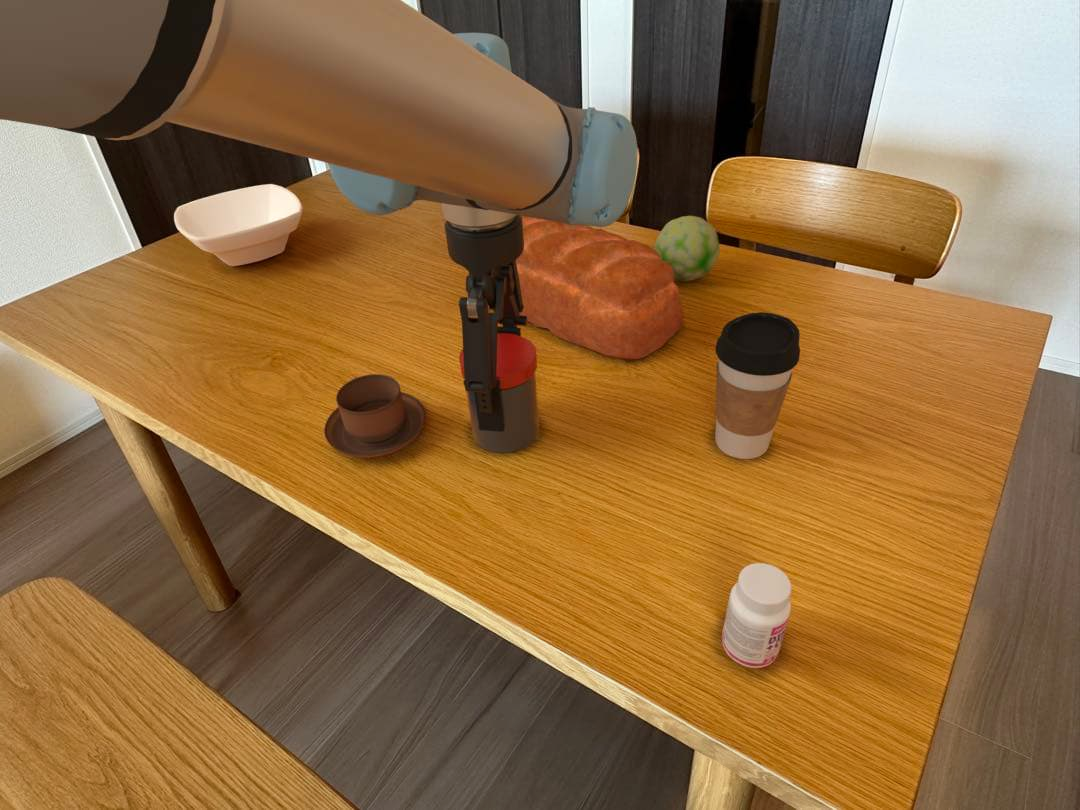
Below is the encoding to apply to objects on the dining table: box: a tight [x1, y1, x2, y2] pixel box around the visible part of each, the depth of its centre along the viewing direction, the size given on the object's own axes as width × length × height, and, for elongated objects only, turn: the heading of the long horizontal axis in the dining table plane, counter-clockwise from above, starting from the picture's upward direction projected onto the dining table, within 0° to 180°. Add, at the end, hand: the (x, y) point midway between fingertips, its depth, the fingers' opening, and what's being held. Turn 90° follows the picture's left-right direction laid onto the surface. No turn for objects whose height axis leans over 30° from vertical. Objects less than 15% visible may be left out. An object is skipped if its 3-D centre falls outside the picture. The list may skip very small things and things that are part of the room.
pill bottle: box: [721, 562, 792, 669], centre depth 57 cm, size 5×5×8 cm
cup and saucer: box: [324, 373, 427, 459], centre depth 82 cm, size 12×12×6 cm
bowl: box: [173, 183, 304, 267], centre depth 123 cm, size 21×21×9 cm
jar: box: [466, 372, 540, 454], centre depth 80 cm, size 8×8×10 cm
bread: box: [516, 216, 684, 361], centre depth 100 cm, size 16×31×13 cm, turn 47°
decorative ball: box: [654, 215, 721, 283], centre depth 108 cm, size 10×10×10 cm
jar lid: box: [458, 333, 538, 389], centre depth 77 cm, size 9×8×2 cm
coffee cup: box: [714, 311, 801, 460], centre depth 75 cm, size 8×8×15 cm
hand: (502, 400), depth 80 cm, fingers open, 10 cm apart
